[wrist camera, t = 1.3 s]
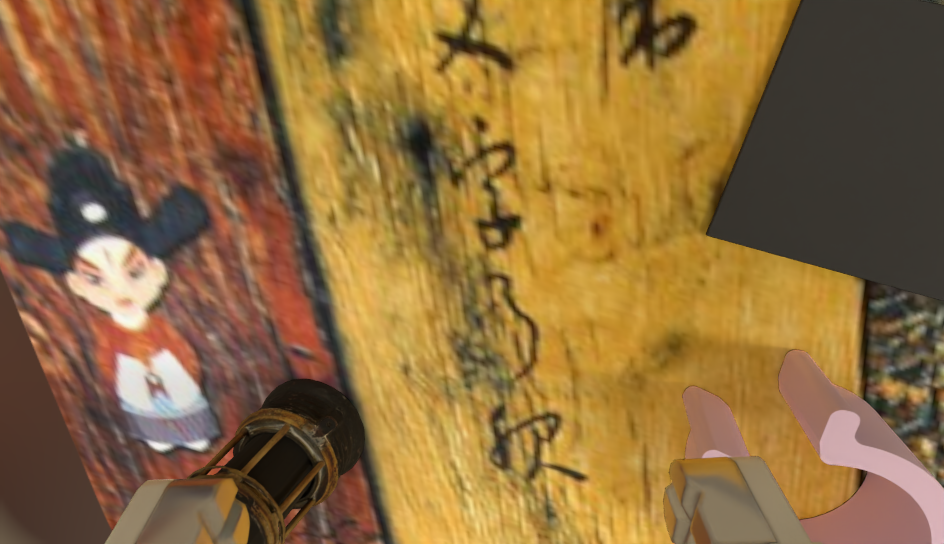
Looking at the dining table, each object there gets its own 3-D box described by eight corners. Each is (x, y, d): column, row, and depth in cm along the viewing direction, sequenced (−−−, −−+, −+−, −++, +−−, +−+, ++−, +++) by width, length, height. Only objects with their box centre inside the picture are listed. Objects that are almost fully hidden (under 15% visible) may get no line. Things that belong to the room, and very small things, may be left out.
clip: (959, 584, 35) (1039, 692, 29) (766, 621, 39) (798, 722, 33) (843, 331, 32) (903, 390, 26) (647, 401, 36) (656, 466, 30)
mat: (809, -21, 27) (812, -23, 27) (1113, 41, 25) (1121, 40, 25) (705, 234, 32) (706, 235, 32) (953, 302, 30) (958, 305, 30)
